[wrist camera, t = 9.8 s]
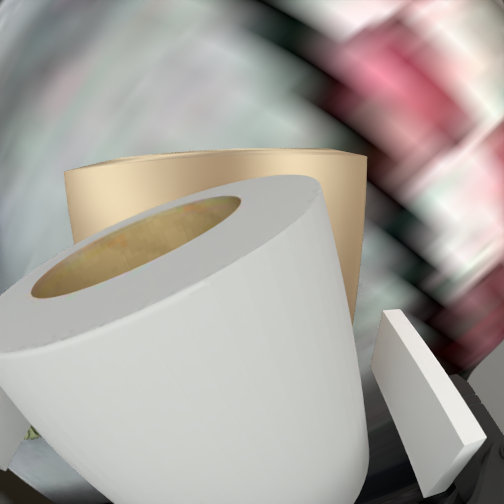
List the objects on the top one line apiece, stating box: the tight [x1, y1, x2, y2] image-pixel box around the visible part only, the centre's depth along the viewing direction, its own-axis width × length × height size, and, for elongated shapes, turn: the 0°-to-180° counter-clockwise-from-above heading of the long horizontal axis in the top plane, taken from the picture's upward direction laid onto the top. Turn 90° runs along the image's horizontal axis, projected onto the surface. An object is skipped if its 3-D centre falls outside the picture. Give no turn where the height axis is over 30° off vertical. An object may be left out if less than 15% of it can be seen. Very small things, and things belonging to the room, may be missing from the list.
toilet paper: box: [0, 175, 369, 504], centre depth 10 cm, size 10×10×10 cm
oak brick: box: [64, 148, 367, 326], centre depth 18 cm, size 13×13×7 cm
